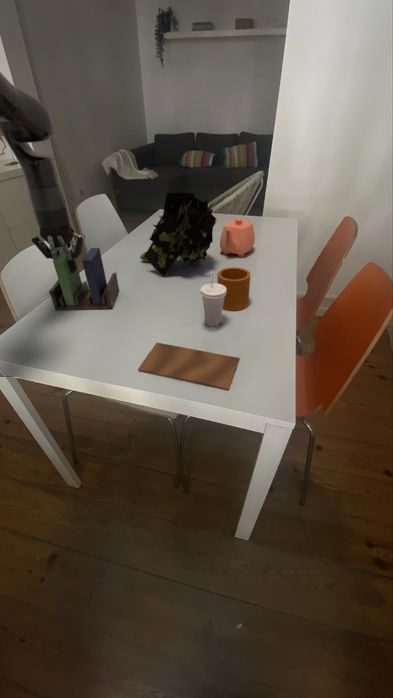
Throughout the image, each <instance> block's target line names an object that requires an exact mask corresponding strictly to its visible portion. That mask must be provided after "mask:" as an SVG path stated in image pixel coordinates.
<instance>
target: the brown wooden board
mask: <svg viewBox="0 0 393 698" xmlns="http://www.w3.org/2000/svg"><path fill="white" fill-rule="evenodd" d="M239 361H240V357H237V356H232V355H226V354H222V353H221V354H220V353H215V352H210V351H204V350H200V349H194V348H189V347H183V346H179V345H173V344H168V343H161V342H155V344H154V345H153V347H152V348H151V349H150V351H149V352H148V354H147V355H146V357H145V358H144V359H143V361H142V362H141V364H140V365H139V367H138V368H137V371H138V372H140V373H141V372H142V373H145V374H150V375H154V376H160V377H164V378H170V379H173V380H179V381H183V382H188V383H191V384H192V383H193V384H197V385H201V386H206V387H210V388H215V389H221V390H224V391H229V390H230V387H231V386H232V385H231V384H232V381H233V378H234V376H235V373H236V369H237V367H238V364H239Z"/></svg>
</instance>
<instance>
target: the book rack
mask: <svg viewBox="0 0 393 698" xmlns="http://www.w3.org/2000/svg"><path fill="white" fill-rule="evenodd" d="M118 281H119V280H118V276H117V272H112V274H111V275H110V278H109V280H108V282H107V286H106V288H105V290H104V292H103V294H102V296H101V301H102V305H93V302H92V298H91V295H90V291H89V287H88V283H87V281H83V282H82V285H81V287H80V289H79V290H78V292H77V294H76V295H75V297H74V301H75V305H66V302H65V299H64V296H63V292H62V289H61V286H60V283H59V280H58V279H57V281H56V282H55V283H54V284H53V286H51V288H50V290H49V291H48V292H49V295H50V298H51V301H52V304H53V308H54V310H55V311H97V310H98V311H99V310H113V308H114V306H115V304H116V301H117V299H118V296H119V293H120V286H119V282H118Z"/></svg>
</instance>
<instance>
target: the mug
mask: <svg viewBox="0 0 393 698" xmlns="http://www.w3.org/2000/svg"><path fill="white" fill-rule="evenodd" d="M217 284H221V285H223V286H225V287H226V289H227V290H226V292H227V293H226V295H225V298H224V303H223V309H222V310H226V311H232V312H235V311H237V312H238V311H242V310H244V309H246V308H247V307H248V306H249V299H250V286H251V285H250V284H251V272H250V271H249V270H247V269H245V268H243V267H238V266H237V267H236V266H235V267H232V266H231V267H226V268H222V269H220V270H219V271H218V272H217Z"/></svg>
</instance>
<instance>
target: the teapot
mask: <svg viewBox="0 0 393 698" xmlns="http://www.w3.org/2000/svg"><path fill="white" fill-rule="evenodd" d="M255 237H256V236H255V229H254V224H253V222H252V221H250V220H249V219H244V220H243V218H239V217H237V218H235V219H232V220H229V221H228V222H226V223H225V224H224V226H223V228H222V232H221V234H220V239H219V247H220V250H221V252H223V255H230V254H236V255H237V257H239V258H244V257H245V254H246V253H248V252H251V250H252V248H253V246H254V244H255V239H256V238H255Z"/></svg>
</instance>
